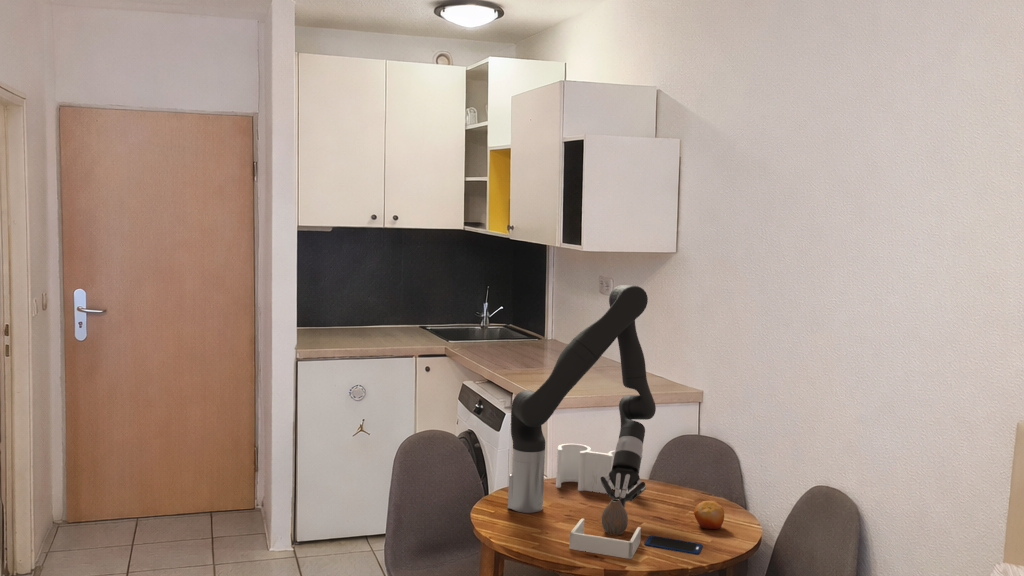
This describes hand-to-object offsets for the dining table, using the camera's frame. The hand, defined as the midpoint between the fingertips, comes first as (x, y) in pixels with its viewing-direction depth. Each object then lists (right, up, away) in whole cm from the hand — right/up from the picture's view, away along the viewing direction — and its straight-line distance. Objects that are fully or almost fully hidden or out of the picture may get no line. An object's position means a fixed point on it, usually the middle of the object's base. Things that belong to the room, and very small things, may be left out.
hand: (617, 512), depth 220 cm
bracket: (-2, -2, +35) cm, 35 cm away
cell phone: (+13, -6, -10) cm, 18 cm away
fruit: (+25, -5, +4) cm, 26 cm away
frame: (-5, -5, -13) cm, 14 cm away
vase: (-1, -5, -3) cm, 6 cm away
